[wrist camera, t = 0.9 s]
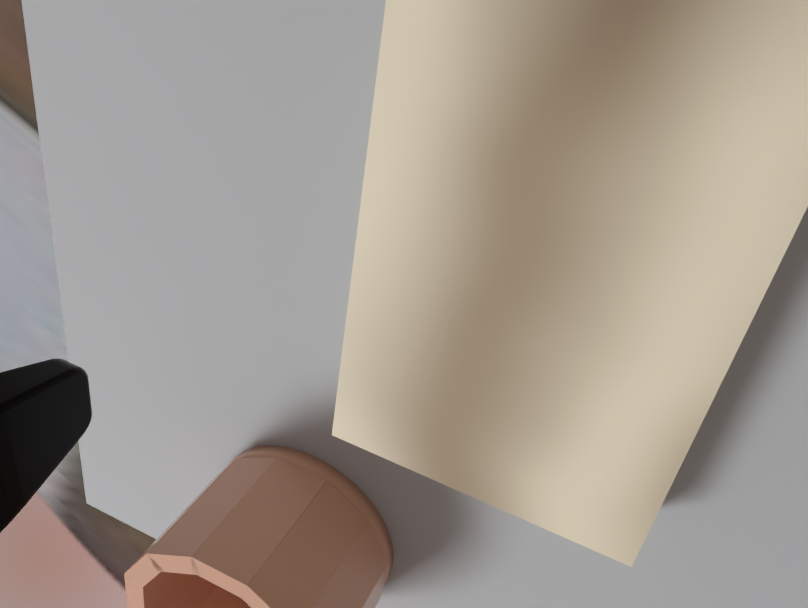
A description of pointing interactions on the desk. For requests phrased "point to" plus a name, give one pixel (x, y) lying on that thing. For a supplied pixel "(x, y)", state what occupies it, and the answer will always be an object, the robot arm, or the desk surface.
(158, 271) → the desk mat
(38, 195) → the desk surface
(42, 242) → the desk surface
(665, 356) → the lid board
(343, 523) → the bowl
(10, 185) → the desk surface
